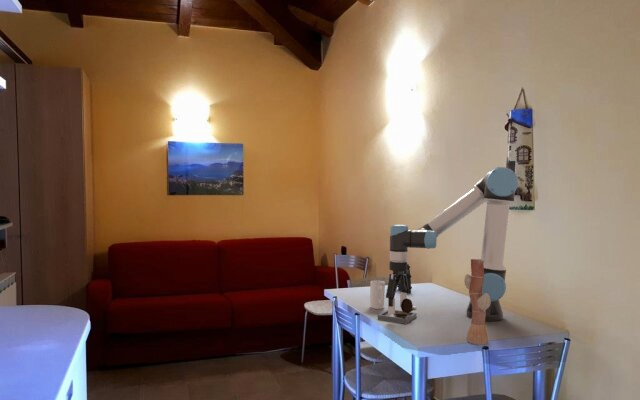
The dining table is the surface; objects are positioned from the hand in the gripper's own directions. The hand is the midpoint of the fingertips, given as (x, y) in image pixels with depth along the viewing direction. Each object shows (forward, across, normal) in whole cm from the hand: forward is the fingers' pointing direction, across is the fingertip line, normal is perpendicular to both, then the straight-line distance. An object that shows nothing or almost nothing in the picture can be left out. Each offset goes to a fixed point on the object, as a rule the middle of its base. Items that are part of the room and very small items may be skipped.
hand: (397, 310), depth 206 cm
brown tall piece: (+3, +14, +36) cm, 39 cm away
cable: (+3, -13, 0) cm, 13 cm away
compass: (+2, +1, +3) cm, 4 cm away
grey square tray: (+3, 0, 0) cm, 3 cm away
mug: (+3, -12, -14) cm, 19 cm away
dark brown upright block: (+4, -57, -19) cm, 60 cm away
